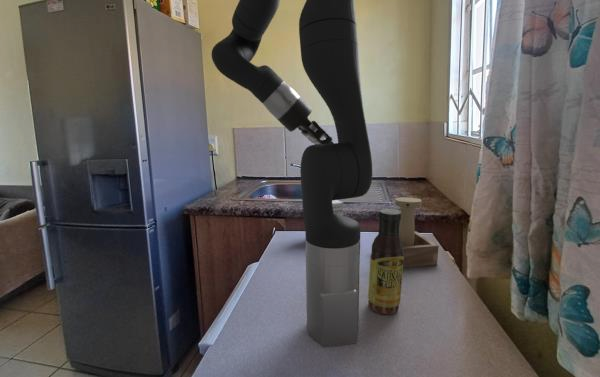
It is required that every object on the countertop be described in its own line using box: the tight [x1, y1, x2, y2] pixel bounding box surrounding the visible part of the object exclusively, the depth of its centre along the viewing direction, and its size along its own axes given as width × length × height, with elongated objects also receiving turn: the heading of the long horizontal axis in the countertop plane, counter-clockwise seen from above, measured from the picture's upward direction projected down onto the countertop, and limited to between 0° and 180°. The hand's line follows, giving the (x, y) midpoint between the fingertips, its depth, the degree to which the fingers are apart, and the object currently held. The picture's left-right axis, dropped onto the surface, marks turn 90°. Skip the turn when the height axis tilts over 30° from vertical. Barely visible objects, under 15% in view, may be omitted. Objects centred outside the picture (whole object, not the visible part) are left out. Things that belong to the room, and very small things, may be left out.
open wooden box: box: [403, 230, 439, 268], centre depth 92 cm, size 11×11×5 cm
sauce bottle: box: [367, 208, 404, 315], centre depth 67 cm, size 7×6×20 cm
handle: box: [394, 196, 422, 247], centre depth 90 cm, size 5×6×15 cm
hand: (335, 154), depth 84 cm, fingers open, 8 cm apart
